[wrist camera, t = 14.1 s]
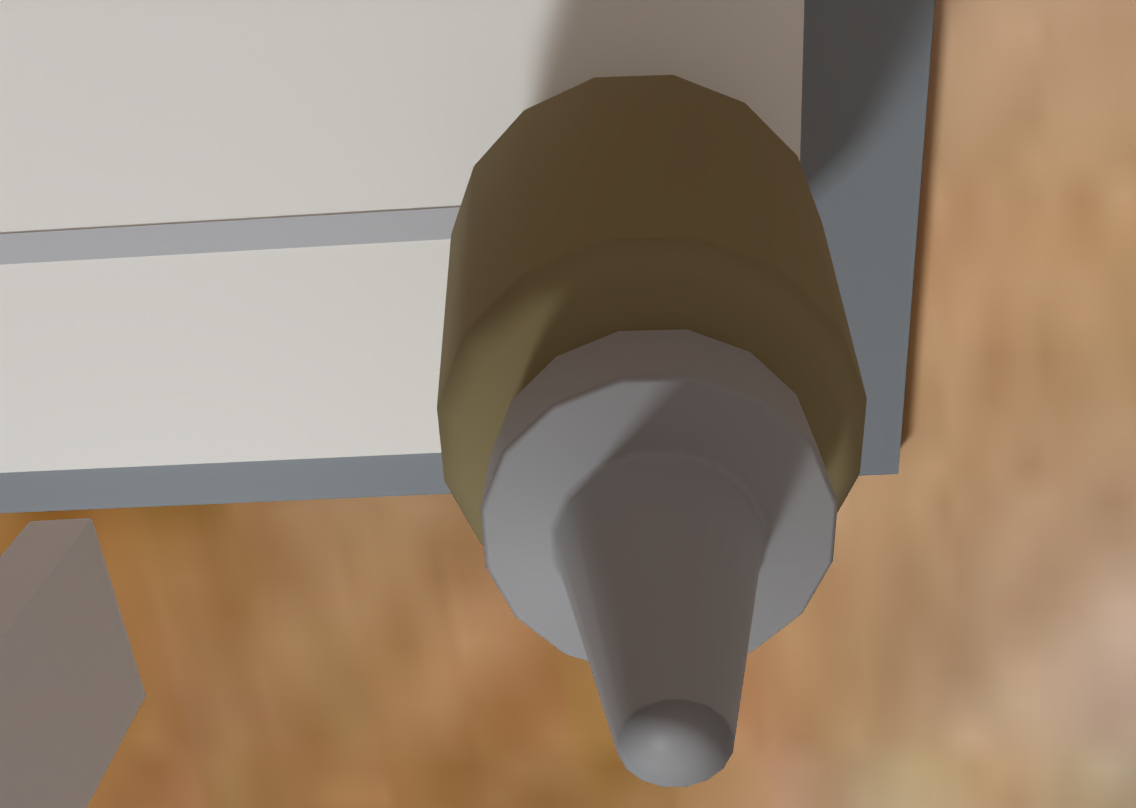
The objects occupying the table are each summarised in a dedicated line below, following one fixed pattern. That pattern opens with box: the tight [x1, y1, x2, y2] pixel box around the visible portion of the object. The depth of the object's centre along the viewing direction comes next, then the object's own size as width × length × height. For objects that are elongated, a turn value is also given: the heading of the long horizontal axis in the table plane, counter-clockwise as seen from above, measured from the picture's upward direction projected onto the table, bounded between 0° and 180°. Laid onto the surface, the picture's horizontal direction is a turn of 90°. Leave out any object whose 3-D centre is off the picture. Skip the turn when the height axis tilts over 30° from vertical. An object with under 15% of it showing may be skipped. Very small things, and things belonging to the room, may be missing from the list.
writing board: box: [0, 0, 935, 513], centre depth 28 cm, size 30×16×1 cm, turn 94°
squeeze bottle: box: [437, 75, 867, 787], centre depth 19 cm, size 8×8×18 cm
